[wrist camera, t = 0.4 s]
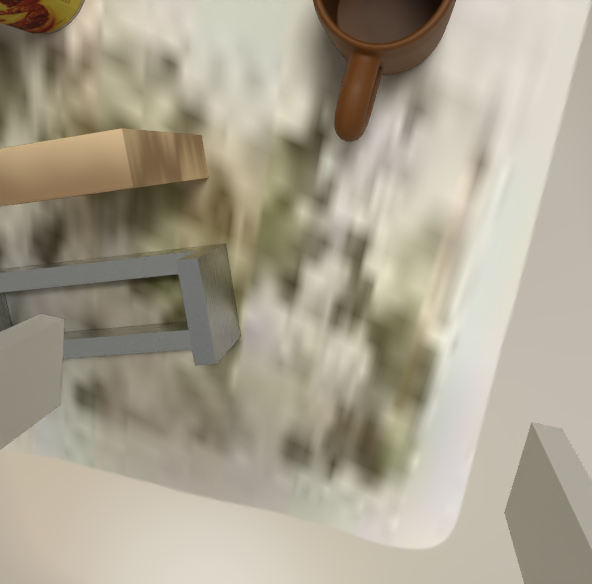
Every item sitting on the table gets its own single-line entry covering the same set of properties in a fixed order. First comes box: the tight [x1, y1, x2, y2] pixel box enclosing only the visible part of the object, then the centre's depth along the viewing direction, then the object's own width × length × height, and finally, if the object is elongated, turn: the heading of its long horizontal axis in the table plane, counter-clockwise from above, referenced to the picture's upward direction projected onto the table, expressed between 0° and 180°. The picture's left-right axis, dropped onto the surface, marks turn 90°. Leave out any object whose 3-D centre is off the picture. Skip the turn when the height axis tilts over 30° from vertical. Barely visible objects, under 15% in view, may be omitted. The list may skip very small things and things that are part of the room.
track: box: [0, 244, 241, 365], centre depth 42 cm, size 7×21×6 cm, turn 98°
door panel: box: [0, 129, 208, 206], centre depth 36 cm, size 3×10×12 cm, turn 98°
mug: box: [313, 0, 456, 142], centre depth 32 cm, size 12×8×9 cm, turn 167°
